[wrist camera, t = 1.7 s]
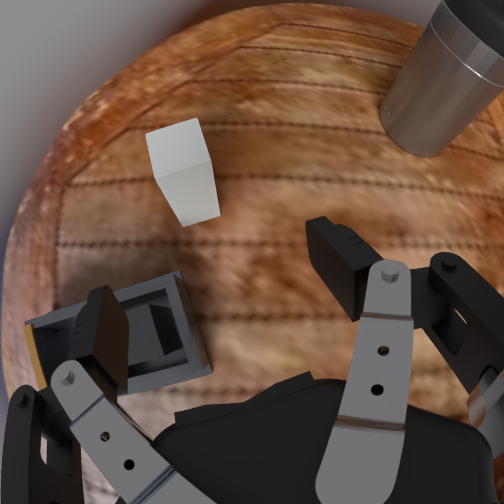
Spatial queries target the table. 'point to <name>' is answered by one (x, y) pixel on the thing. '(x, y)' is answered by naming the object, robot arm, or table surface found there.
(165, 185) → the block
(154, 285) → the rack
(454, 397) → the table surface
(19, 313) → the table surface
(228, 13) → the table surface
